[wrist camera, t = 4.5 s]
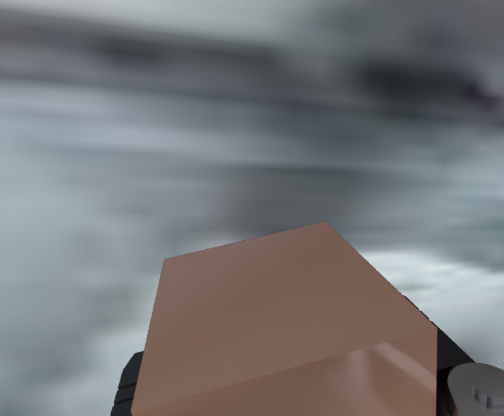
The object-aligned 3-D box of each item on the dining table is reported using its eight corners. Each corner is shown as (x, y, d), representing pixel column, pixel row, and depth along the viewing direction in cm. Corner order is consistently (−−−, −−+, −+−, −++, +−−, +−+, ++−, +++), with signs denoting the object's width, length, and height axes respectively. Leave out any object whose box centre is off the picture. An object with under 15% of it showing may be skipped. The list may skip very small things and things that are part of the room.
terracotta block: (163, 259, 10) (130, 412, 5) (325, 221, 10) (437, 328, 5) (203, 384, 11) (205, 588, 7) (339, 347, 12) (434, 513, 7)
